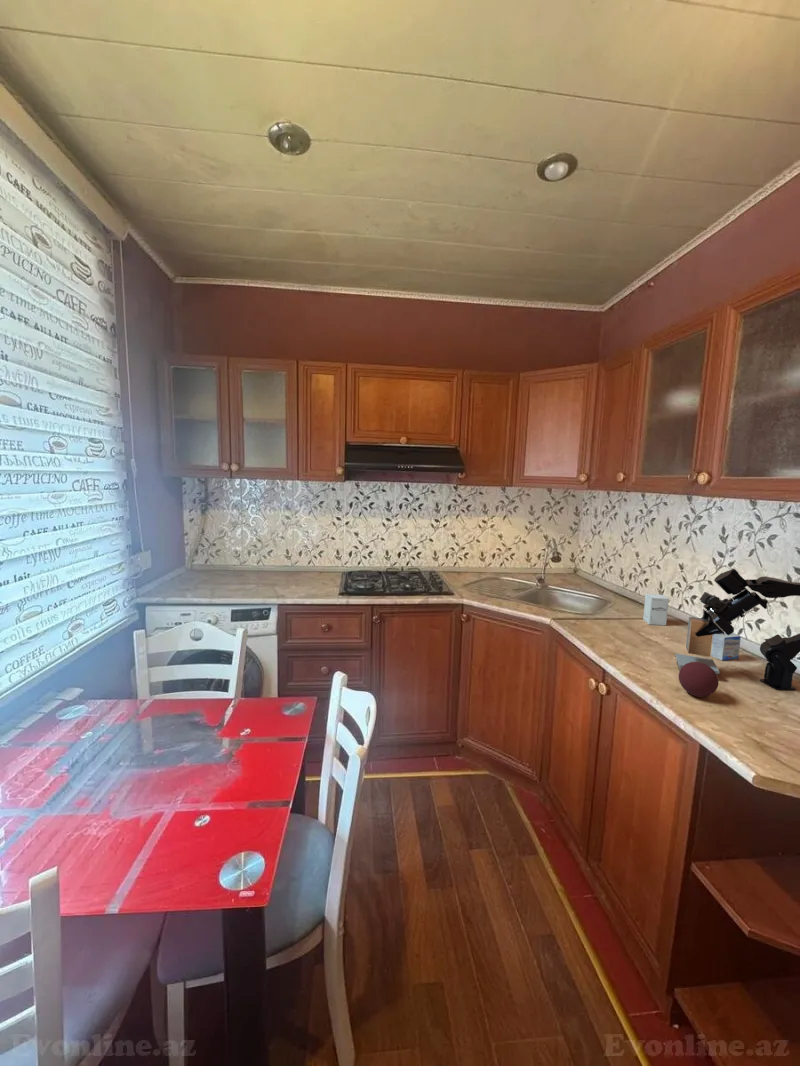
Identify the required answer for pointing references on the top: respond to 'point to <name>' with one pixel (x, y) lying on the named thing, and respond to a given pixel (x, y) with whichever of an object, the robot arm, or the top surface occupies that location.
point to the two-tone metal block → (698, 638)
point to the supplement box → (655, 609)
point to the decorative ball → (698, 679)
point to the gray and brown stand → (687, 659)
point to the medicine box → (725, 646)
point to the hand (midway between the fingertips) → (694, 632)
